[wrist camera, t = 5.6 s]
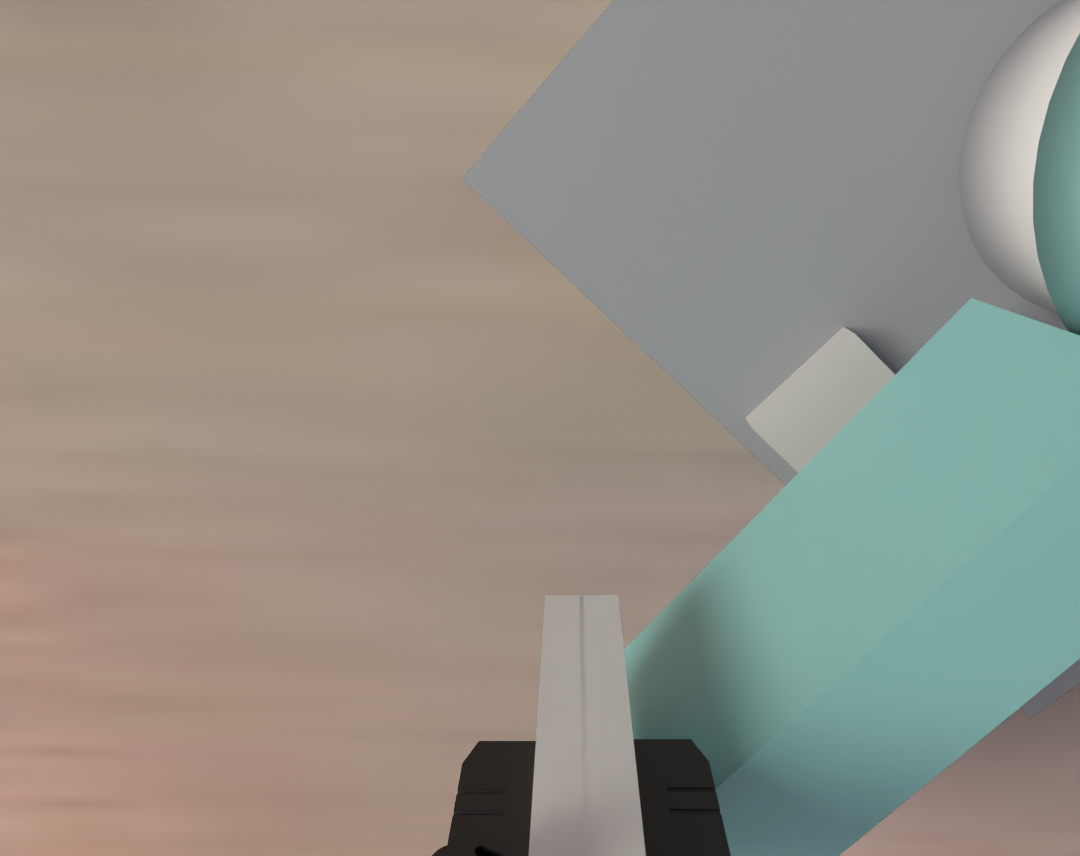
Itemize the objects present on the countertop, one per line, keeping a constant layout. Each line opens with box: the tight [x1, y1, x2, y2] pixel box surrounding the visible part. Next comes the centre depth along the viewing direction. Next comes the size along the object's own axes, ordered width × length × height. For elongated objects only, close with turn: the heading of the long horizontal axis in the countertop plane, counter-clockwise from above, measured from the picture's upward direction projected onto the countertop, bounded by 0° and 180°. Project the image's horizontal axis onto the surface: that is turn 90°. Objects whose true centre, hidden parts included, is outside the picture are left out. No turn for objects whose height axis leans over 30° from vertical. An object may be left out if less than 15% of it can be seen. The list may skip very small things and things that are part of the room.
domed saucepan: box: [624, 33, 1080, 856], centre depth 13 cm, size 22×9×7 cm, turn 141°
